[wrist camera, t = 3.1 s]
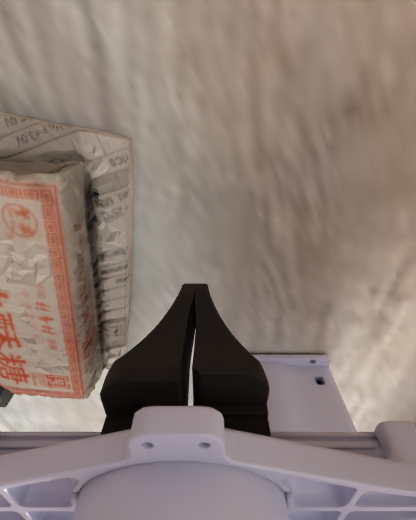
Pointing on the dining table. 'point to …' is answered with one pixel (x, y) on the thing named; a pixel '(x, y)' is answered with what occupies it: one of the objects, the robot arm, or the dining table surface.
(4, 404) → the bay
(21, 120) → the packaged product
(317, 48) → the dining table surface
